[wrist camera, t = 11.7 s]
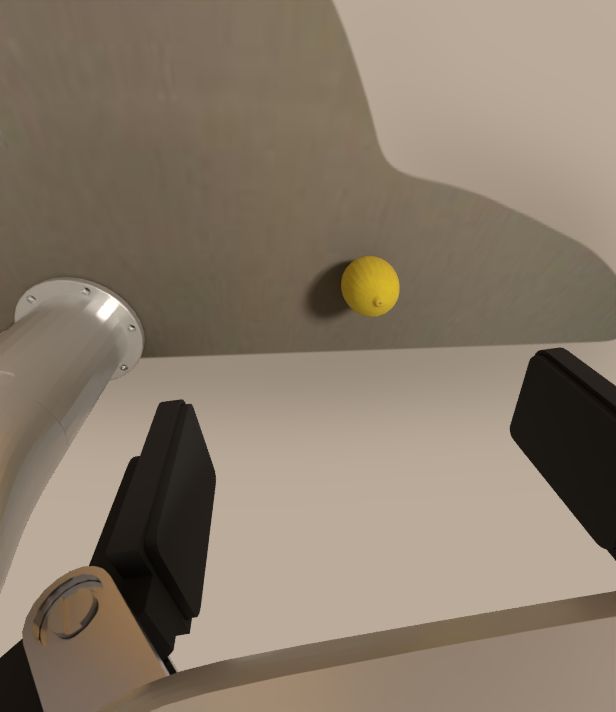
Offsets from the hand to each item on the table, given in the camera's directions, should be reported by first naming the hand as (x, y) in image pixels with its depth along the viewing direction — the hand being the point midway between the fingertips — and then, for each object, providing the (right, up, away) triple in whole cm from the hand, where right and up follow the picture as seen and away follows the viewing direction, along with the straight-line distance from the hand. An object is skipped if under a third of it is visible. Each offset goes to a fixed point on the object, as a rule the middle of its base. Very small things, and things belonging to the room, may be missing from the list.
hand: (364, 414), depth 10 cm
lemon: (+4, +11, +29) cm, 32 cm away
